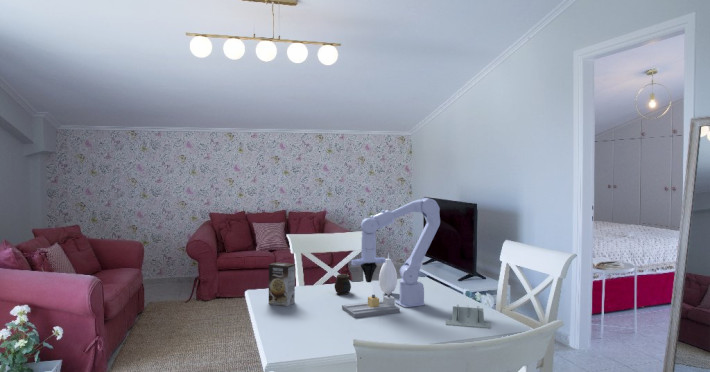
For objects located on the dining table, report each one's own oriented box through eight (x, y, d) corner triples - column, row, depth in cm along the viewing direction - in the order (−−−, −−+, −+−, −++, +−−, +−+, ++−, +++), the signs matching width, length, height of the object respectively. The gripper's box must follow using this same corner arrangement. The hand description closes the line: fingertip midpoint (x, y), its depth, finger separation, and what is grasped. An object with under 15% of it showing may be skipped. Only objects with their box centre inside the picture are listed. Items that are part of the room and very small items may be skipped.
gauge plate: (385, 304, 195) (385, 290, 195) (399, 312, 184) (400, 297, 184) (341, 309, 188) (342, 294, 187) (354, 317, 177) (354, 302, 176)
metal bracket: (447, 300, 181) (488, 303, 177) (447, 313, 183) (488, 317, 179) (445, 322, 168) (490, 325, 164) (445, 336, 170) (489, 340, 166)
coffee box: (267, 304, 194) (267, 264, 194) (276, 300, 200) (276, 261, 200) (287, 306, 191) (287, 266, 190) (295, 302, 197) (295, 263, 196)
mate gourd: (343, 290, 217) (343, 268, 216) (354, 293, 211) (355, 271, 211) (331, 293, 212) (331, 270, 212) (342, 296, 206) (342, 273, 206)
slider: (374, 303, 189) (374, 293, 189) (379, 306, 185) (379, 295, 185) (367, 304, 188) (367, 294, 187) (372, 307, 184) (372, 296, 184)
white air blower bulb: (375, 294, 210) (376, 253, 210) (384, 290, 217) (385, 250, 216) (391, 297, 206) (391, 255, 205) (400, 293, 212) (400, 252, 212)
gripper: (380, 245, 200) (380, 278, 200) (348, 247, 194) (348, 281, 194) (388, 248, 193) (388, 281, 194) (355, 250, 187) (355, 285, 188)
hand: (368, 281), depth 194 cm, fingers closed
